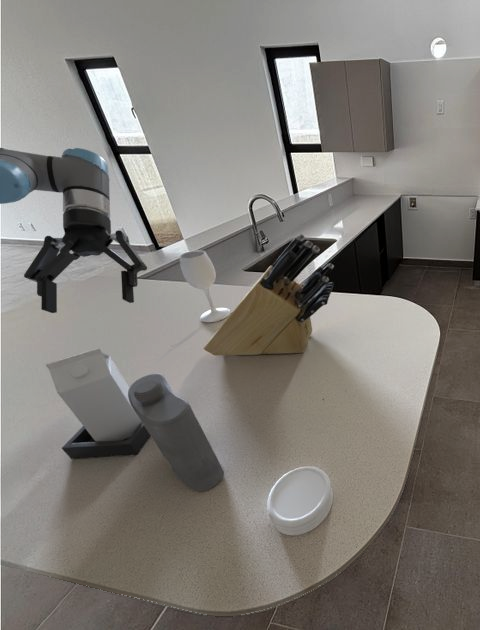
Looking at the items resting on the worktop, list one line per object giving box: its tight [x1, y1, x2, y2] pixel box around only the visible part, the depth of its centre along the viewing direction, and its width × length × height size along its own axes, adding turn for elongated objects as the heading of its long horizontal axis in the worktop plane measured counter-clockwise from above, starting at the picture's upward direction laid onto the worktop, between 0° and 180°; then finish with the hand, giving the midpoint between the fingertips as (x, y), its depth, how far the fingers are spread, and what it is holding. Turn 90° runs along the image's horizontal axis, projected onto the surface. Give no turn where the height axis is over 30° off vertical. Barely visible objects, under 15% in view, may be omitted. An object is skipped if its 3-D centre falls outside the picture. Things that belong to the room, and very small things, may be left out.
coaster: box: [266, 465, 334, 537], centre depth 55 cm, size 10×10×4 cm
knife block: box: [203, 233, 335, 356], centre depth 86 cm, size 11×35×31 cm, turn 93°
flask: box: [128, 373, 225, 492], centre depth 57 cm, size 15×6×20 cm, turn 52°
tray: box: [61, 423, 152, 460], centre depth 68 cm, size 12×12×3 cm
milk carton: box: [45, 347, 142, 442], centre depth 63 cm, size 7×7×19 cm
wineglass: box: [178, 249, 231, 323], centre depth 102 cm, size 9×9×21 cm
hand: (89, 306), depth 70 cm, fingers open, 13 cm apart
